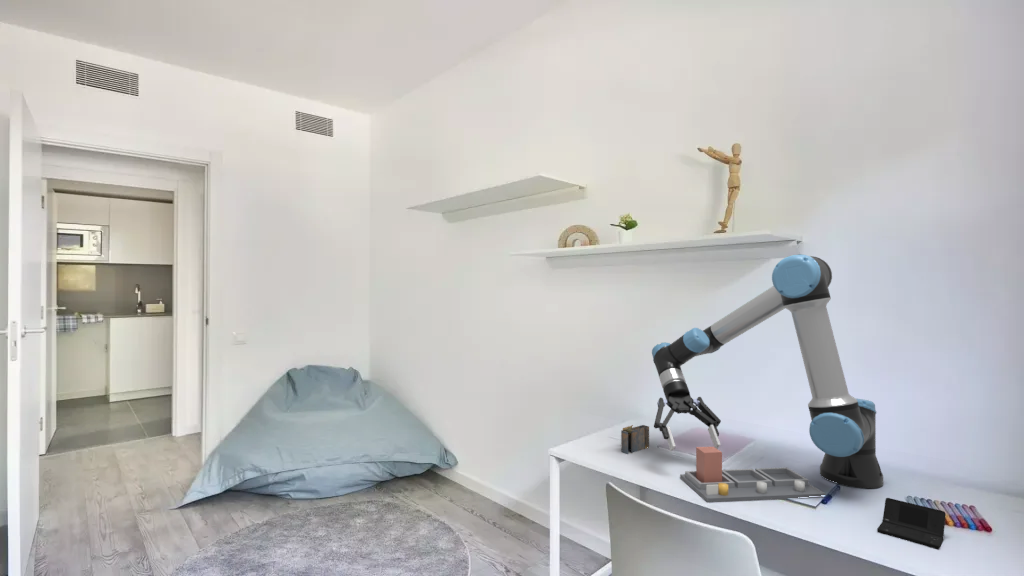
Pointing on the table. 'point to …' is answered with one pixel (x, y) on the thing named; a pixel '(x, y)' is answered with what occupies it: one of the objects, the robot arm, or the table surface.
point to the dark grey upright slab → (634, 438)
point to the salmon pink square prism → (708, 464)
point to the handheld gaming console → (913, 523)
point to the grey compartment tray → (753, 485)
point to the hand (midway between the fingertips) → (695, 447)
